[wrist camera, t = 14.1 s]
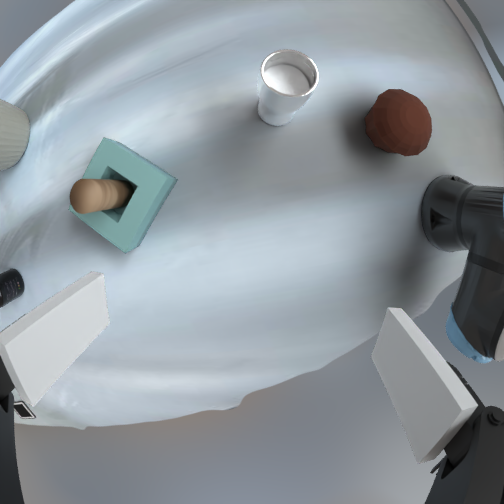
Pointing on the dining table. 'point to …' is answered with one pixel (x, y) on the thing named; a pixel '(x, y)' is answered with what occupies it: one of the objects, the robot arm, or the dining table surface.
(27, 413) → the cell phone
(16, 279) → the supplement bottle
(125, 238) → the socket block
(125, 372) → the dining table surface
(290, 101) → the beer glass
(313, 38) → the dining table surface
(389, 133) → the muffin
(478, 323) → the robot arm
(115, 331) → the dining table surface
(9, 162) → the canister
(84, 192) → the dowel pin
